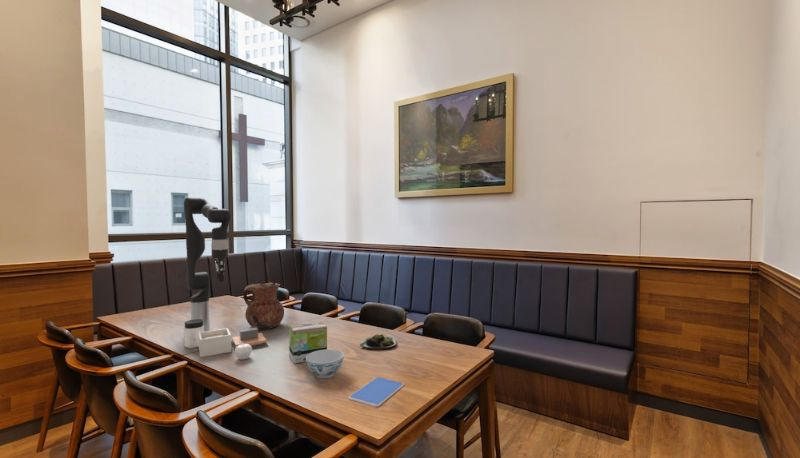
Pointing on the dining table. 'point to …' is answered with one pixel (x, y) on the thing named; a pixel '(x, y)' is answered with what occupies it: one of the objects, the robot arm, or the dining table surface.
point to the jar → (192, 332)
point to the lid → (249, 337)
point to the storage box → (214, 342)
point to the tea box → (306, 340)
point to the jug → (263, 306)
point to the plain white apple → (243, 351)
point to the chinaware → (324, 362)
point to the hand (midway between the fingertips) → (220, 280)
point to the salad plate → (379, 343)
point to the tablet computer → (376, 391)
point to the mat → (253, 346)
